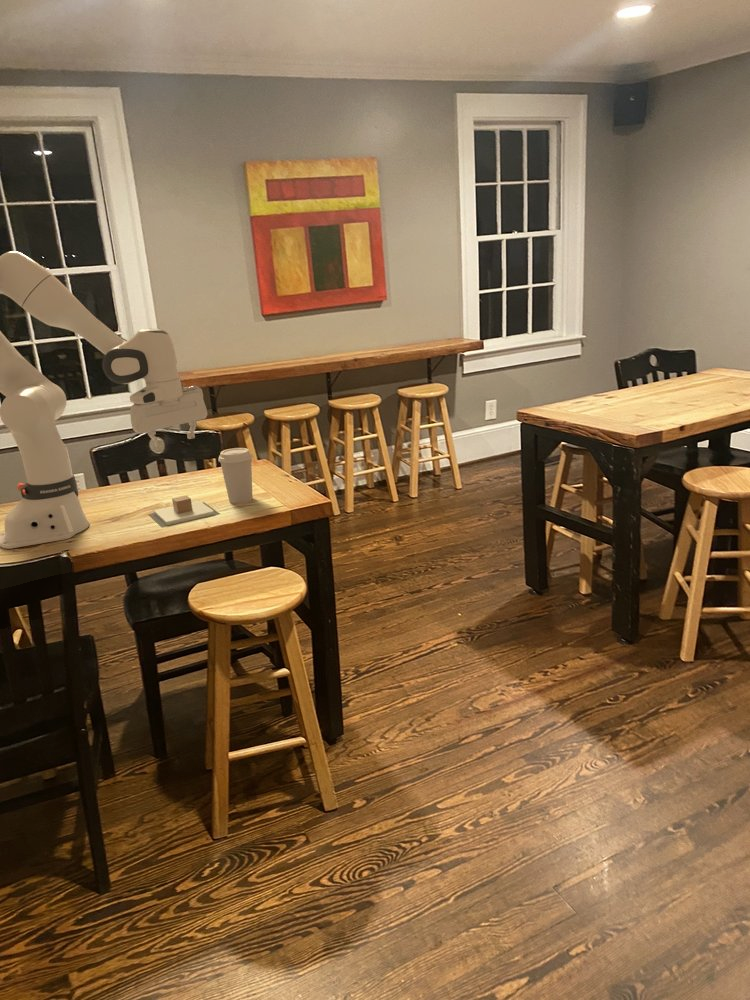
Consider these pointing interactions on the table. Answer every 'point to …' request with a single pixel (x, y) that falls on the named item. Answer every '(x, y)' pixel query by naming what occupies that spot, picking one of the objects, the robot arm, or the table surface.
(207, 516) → the mat
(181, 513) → the lid
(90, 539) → the table surface
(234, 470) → the coffee cup
